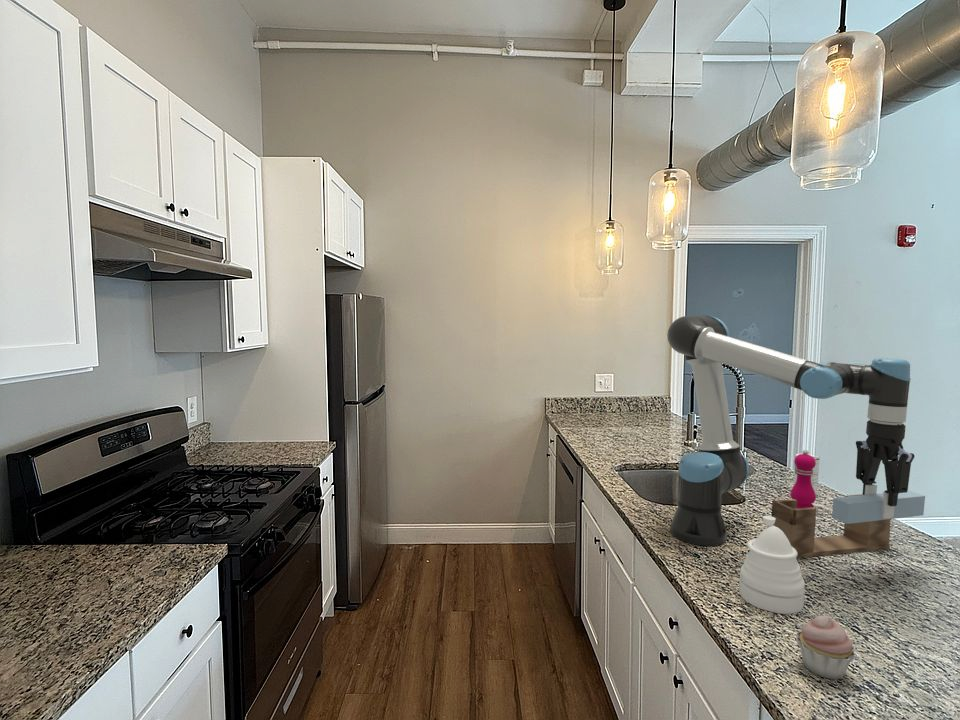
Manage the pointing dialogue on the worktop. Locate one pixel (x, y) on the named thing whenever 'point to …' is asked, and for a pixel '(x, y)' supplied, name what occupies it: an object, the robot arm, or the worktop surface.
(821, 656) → the cupcake
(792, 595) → the honey pot
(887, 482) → the robot arm
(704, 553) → the worktop surface
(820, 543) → the bracket
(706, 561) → the worktop surface
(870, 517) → the rail
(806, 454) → the pepper mill
